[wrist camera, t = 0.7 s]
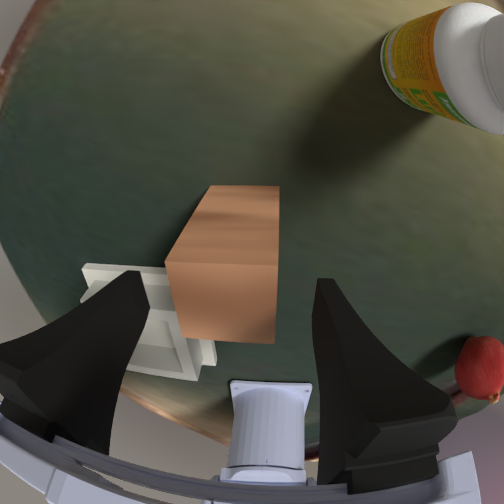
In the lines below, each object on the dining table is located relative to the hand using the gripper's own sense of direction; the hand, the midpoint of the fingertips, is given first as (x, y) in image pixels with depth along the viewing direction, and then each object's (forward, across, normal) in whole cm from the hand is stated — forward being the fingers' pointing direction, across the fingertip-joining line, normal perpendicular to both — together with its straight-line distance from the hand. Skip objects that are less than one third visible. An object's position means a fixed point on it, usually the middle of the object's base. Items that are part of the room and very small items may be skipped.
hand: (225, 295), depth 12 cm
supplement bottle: (+8, -10, -10) cm, 16 cm away
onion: (+8, -22, +12) cm, 26 cm away
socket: (+7, +8, +9) cm, 14 cm away
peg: (+7, 0, 0) cm, 7 cm away
